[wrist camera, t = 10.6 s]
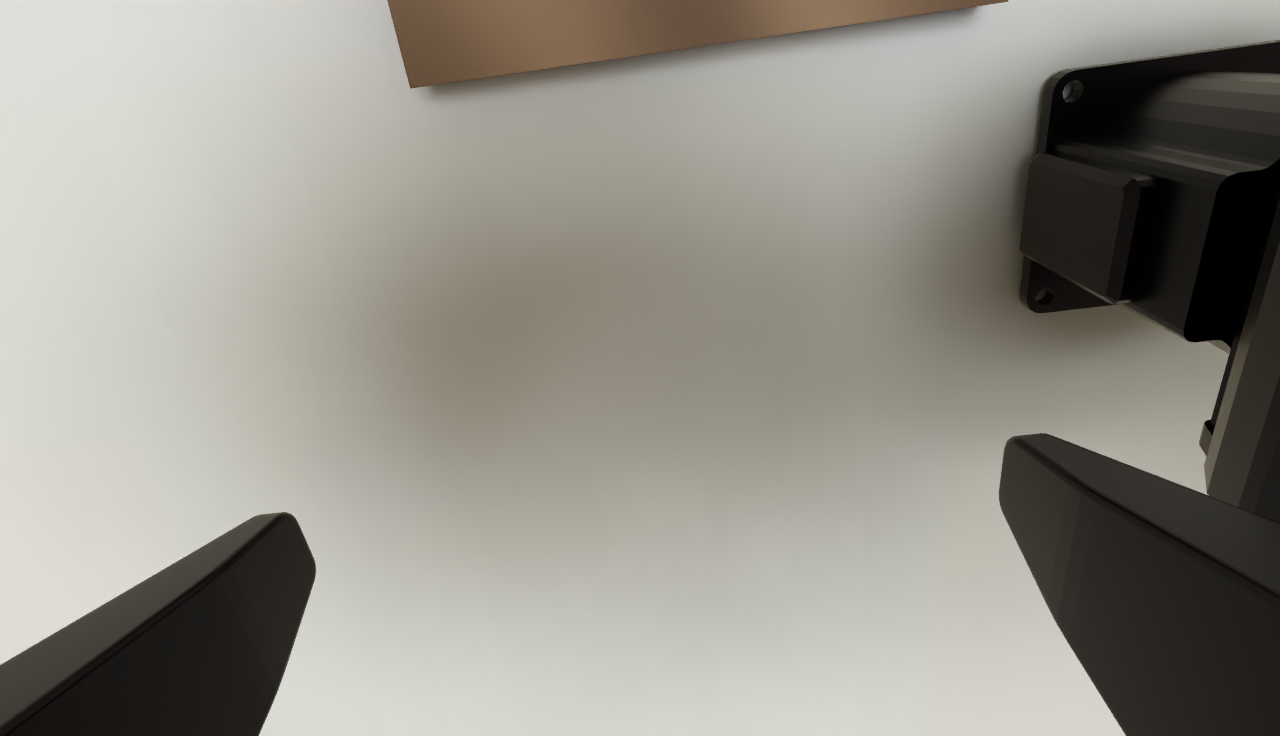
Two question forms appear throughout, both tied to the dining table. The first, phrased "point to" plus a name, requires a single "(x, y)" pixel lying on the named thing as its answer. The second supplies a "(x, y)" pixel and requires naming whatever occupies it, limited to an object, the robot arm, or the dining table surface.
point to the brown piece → (605, 29)
